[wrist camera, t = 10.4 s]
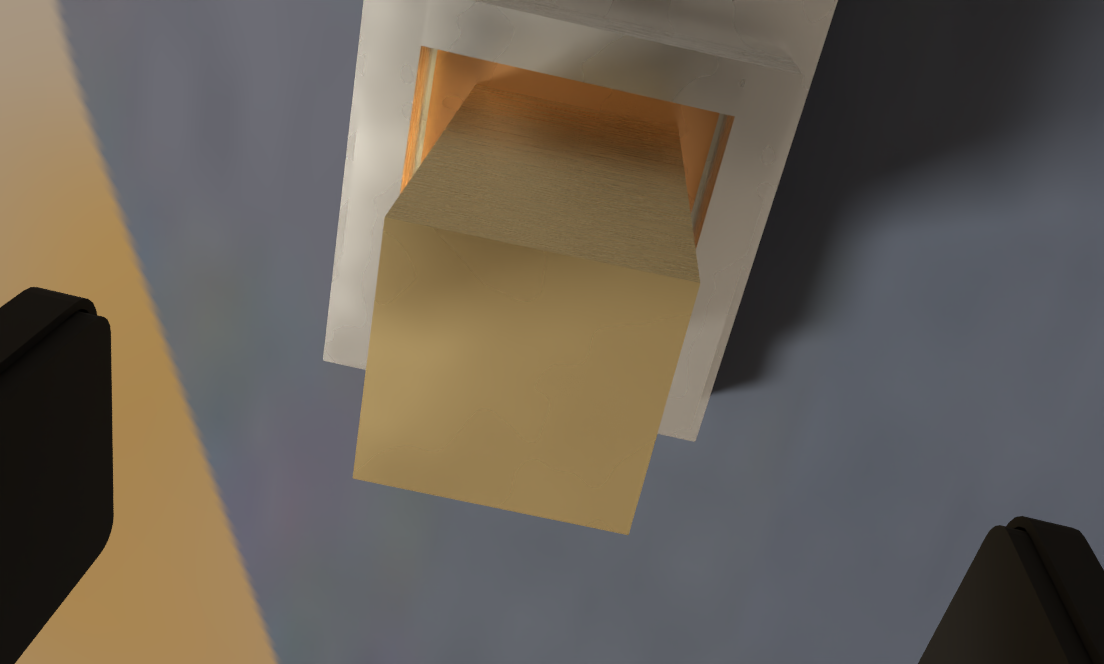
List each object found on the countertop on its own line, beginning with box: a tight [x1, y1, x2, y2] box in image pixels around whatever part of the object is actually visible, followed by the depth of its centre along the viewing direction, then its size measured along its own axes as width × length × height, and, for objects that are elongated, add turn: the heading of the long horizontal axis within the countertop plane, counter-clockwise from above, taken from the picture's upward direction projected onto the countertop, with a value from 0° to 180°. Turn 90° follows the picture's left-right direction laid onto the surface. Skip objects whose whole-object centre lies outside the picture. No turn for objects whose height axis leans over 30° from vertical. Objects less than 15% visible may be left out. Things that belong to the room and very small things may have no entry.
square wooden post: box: [353, 85, 700, 535], centre depth 17 cm, size 4×4×8 cm
